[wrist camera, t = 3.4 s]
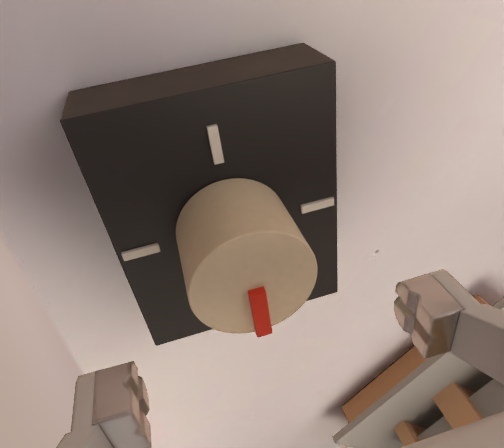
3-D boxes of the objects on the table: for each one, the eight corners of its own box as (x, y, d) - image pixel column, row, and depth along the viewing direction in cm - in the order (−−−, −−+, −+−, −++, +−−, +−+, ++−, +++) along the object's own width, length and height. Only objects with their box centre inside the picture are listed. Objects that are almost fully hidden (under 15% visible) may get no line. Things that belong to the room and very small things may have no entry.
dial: (162, 194, 15) (174, 260, 12) (279, 165, 15) (319, 221, 12) (189, 282, 17) (204, 355, 14) (288, 254, 18) (323, 318, 15)
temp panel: (68, 91, 15) (58, 122, 12) (303, 42, 16) (338, 61, 14) (151, 301, 21) (156, 349, 19) (314, 254, 23) (339, 294, 20)
